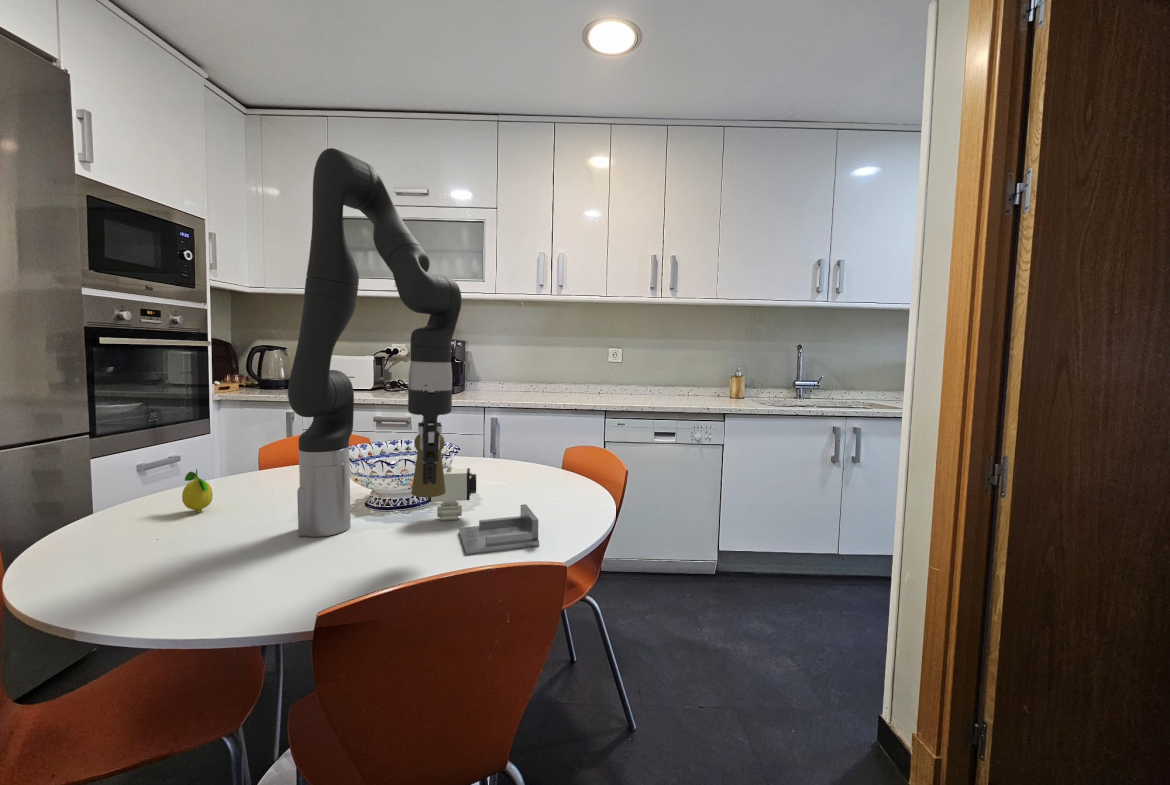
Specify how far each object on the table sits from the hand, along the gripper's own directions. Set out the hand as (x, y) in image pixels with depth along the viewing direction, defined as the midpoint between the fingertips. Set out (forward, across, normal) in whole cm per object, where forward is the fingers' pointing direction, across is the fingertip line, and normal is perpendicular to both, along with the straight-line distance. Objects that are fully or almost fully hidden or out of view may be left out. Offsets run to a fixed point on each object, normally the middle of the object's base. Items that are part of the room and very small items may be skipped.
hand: (428, 480), depth 90 cm
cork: (+3, 0, 0) cm, 3 cm away
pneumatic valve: (+14, -20, +6) cm, 25 cm away
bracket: (+14, -4, +14) cm, 20 cm away
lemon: (+16, -40, -49) cm, 65 cm away
